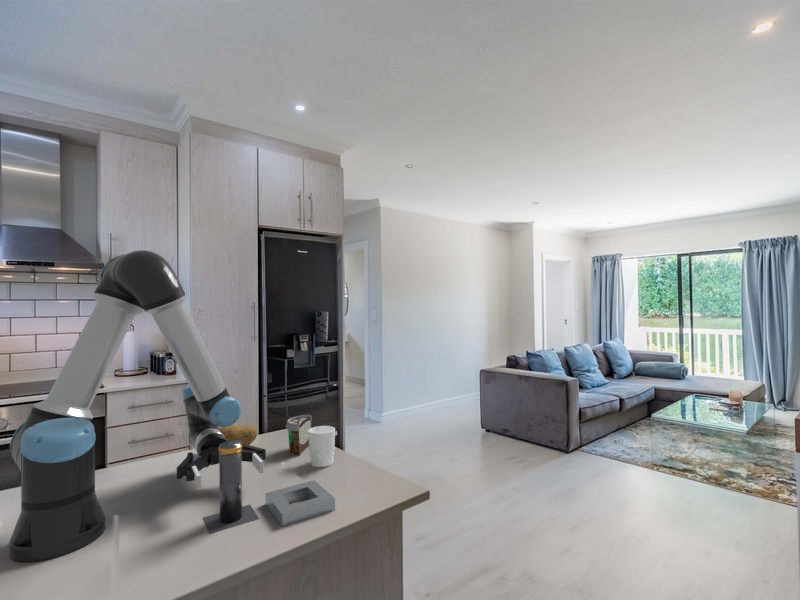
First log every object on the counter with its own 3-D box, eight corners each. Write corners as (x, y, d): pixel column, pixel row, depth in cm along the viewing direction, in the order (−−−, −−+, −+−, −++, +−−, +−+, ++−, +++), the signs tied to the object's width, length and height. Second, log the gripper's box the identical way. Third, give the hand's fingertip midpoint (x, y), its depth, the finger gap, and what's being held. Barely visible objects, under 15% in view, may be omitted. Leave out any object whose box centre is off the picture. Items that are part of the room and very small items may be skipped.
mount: (209, 538, 83) (209, 533, 83) (202, 522, 90) (202, 517, 90) (259, 523, 89) (259, 518, 89) (249, 508, 96) (249, 504, 96)
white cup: (329, 469, 118) (329, 434, 118) (304, 467, 120) (303, 432, 120) (339, 459, 126) (338, 426, 126) (315, 457, 128) (314, 425, 128)
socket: (282, 531, 86) (282, 514, 86) (265, 508, 96) (265, 493, 96) (335, 513, 93) (335, 498, 93) (314, 494, 102) (314, 480, 103)
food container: (294, 443, 142) (294, 414, 142) (312, 443, 141) (311, 414, 141) (279, 456, 129) (279, 424, 130) (298, 457, 129) (297, 424, 129)
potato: (253, 453, 132) (253, 428, 133) (208, 455, 131) (207, 430, 131) (261, 443, 142) (261, 420, 142) (219, 445, 141) (219, 421, 141)
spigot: (221, 526, 86) (221, 448, 87) (217, 516, 90) (216, 443, 91) (244, 519, 89) (244, 444, 89) (239, 510, 93) (239, 439, 93)
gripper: (259, 450, 119) (285, 477, 101) (158, 471, 104) (169, 506, 87) (259, 424, 118) (285, 446, 101) (158, 442, 104) (169, 471, 87)
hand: (231, 474), depth 94 cm, fingers open, 13 cm apart
